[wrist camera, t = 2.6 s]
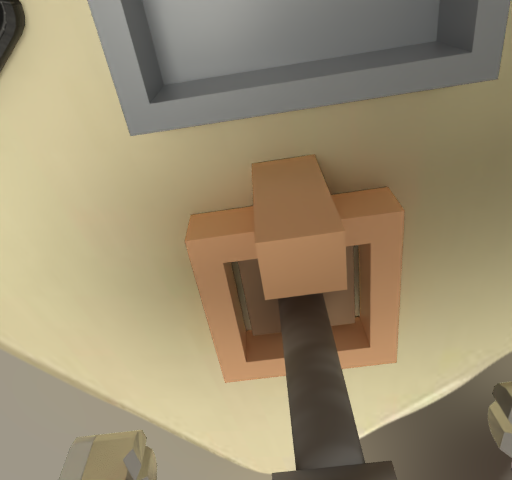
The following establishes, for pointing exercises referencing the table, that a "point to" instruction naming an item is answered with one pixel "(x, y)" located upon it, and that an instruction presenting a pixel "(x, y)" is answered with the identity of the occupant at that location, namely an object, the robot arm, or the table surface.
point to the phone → (10, 27)
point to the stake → (314, 378)
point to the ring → (300, 264)
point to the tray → (287, 54)
